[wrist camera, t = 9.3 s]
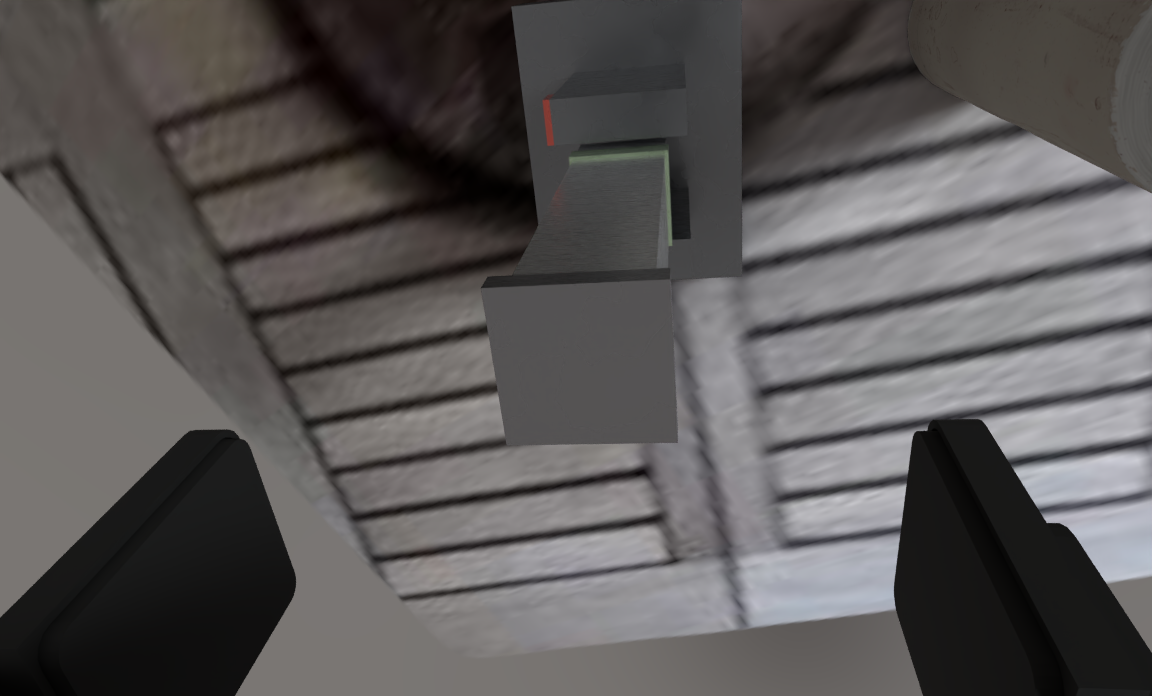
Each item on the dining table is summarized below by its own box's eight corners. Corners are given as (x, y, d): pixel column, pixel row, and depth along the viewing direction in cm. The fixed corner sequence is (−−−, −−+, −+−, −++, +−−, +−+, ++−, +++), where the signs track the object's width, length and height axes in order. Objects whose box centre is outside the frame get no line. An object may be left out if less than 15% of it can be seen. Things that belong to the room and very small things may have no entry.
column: (571, 136, 36) (480, 288, 19) (674, 128, 35) (669, 279, 19) (581, 233, 38) (506, 445, 22) (678, 228, 38) (677, 442, 21)
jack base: (521, 3, 43) (470, 18, 33) (737, -19, 41) (757, -11, 31) (552, 268, 50) (519, 351, 40) (738, 259, 48) (755, 343, 38)
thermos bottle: (1079, 57, 41) (1686, 206, 16) (926, 118, 43) (1256, 330, 19) (1052, -98, 38) (1740, -201, 13) (889, -24, 40) (1222, 5, 16)
